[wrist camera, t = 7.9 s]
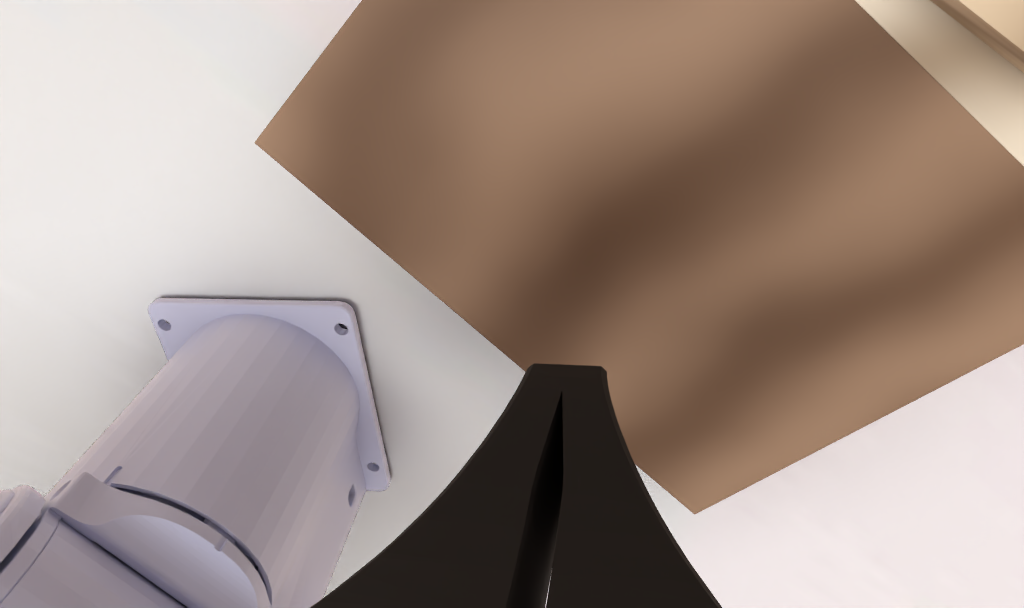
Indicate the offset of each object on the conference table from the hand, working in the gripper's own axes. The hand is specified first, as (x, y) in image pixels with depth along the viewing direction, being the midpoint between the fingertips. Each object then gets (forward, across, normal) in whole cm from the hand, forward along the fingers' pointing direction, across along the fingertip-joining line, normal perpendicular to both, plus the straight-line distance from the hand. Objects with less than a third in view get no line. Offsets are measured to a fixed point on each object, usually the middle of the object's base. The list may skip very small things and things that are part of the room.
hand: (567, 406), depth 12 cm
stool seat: (+10, -4, -2) cm, 12 cm away
